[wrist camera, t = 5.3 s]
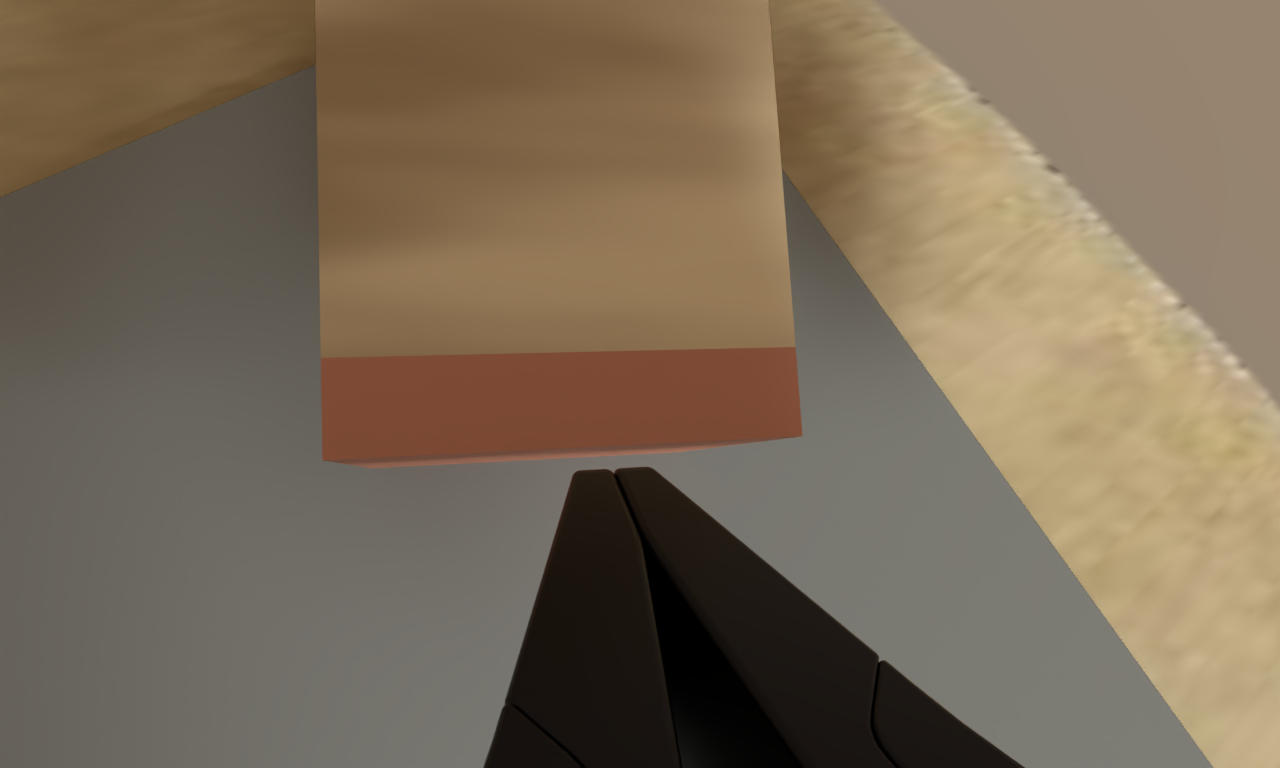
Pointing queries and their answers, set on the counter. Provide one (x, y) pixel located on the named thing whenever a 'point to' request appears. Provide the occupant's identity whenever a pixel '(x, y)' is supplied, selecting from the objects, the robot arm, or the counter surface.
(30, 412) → the slate mat
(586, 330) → the maple block
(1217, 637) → the counter surface
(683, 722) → the robot arm
